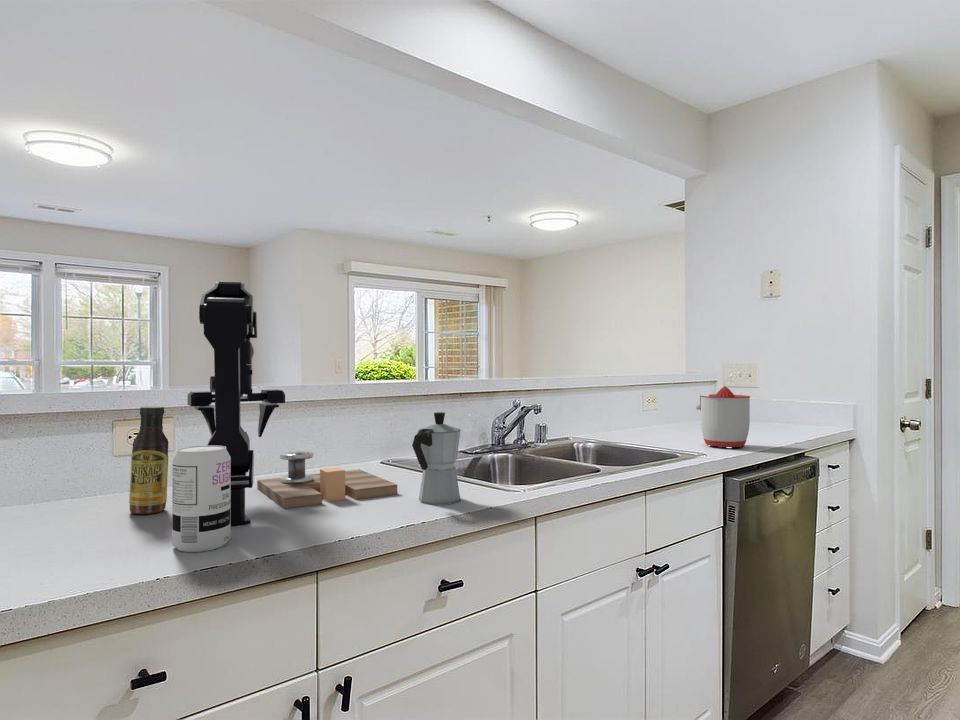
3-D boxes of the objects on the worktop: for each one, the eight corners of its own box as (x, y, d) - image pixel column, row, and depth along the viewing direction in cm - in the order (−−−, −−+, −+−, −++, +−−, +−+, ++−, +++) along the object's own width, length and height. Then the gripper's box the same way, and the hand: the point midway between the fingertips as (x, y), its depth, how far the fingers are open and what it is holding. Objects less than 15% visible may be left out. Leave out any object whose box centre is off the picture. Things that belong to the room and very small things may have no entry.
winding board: (397, 493, 131) (397, 484, 131) (283, 508, 118) (283, 498, 118) (359, 477, 149) (359, 469, 149) (257, 488, 136) (257, 479, 136)
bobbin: (317, 481, 134) (317, 454, 134) (285, 485, 130) (285, 457, 130) (307, 476, 140) (307, 450, 140) (276, 480, 136) (276, 453, 136)
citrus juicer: (710, 441, 215) (710, 384, 215) (759, 447, 202) (759, 386, 202) (685, 445, 205) (685, 386, 205) (735, 451, 192) (735, 387, 192)
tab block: (338, 495, 130) (338, 467, 130) (345, 499, 126) (345, 470, 126) (319, 497, 127) (320, 469, 127) (326, 501, 124) (326, 472, 124)
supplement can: (175, 540, 97) (175, 446, 97) (231, 535, 100) (231, 443, 100) (168, 556, 90) (169, 453, 90) (229, 550, 92) (229, 450, 92)
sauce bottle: (124, 516, 112) (124, 408, 112) (134, 508, 118) (134, 405, 118) (164, 514, 113) (164, 407, 113) (171, 506, 119) (171, 405, 119)
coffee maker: (439, 491, 133) (439, 409, 133) (473, 496, 129) (474, 411, 129) (396, 505, 120) (396, 414, 120) (432, 511, 116) (433, 416, 116)
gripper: (272, 364, 142) (272, 431, 142) (183, 364, 131) (183, 437, 132) (286, 364, 132) (285, 437, 132) (191, 365, 122) (191, 443, 122)
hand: (237, 438), depth 130 cm, fingers open, 9 cm apart
